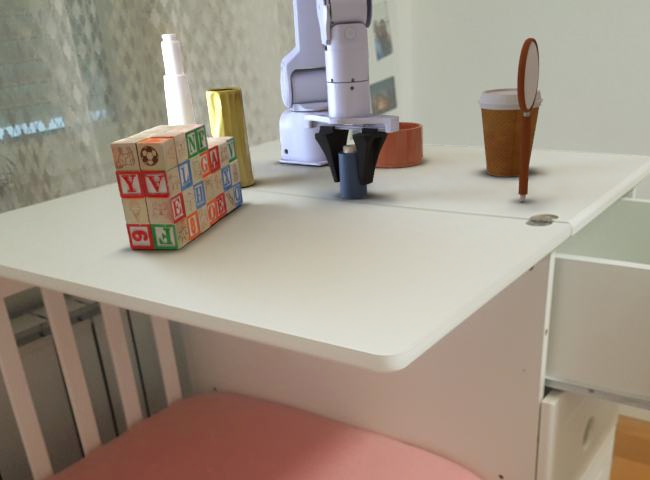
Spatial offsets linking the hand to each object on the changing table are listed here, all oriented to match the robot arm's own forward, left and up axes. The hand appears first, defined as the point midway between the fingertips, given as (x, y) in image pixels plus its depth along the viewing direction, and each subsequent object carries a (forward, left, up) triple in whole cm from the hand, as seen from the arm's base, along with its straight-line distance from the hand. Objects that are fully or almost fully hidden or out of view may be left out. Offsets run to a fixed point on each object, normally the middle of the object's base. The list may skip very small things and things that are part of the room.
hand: (353, 182), depth 101 cm
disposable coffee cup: (+14, +22, -2) cm, 26 cm away
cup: (-7, +23, -2) cm, 24 cm away
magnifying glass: (+23, +6, -2) cm, 24 cm away
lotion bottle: (0, 0, -2) cm, 2 cm away
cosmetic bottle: (-33, 0, -2) cm, 33 cm away
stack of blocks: (-11, -21, -2) cm, 24 cm away
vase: (-22, -1, -2) cm, 22 cm away
